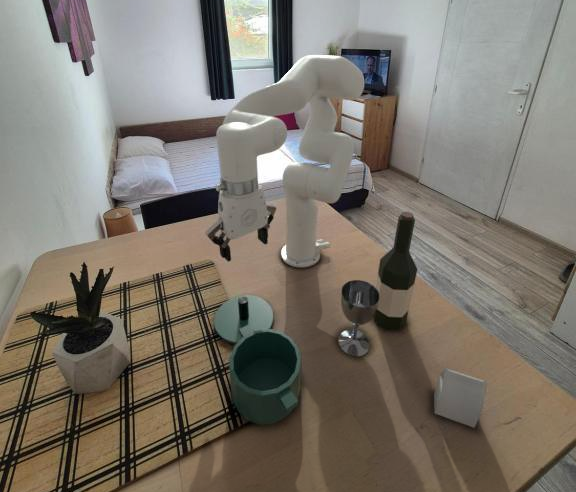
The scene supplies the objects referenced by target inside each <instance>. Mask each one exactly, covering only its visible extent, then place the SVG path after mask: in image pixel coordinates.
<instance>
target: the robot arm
mask: <svg viewBox="0 0 576 492" xmlns="http://www.w3.org/2000/svg"><path fill="white" fill-rule="evenodd" d="M364 89H365V77H364V73H363V72H362V70H361V69H360V68H359V67H357V65H356V64H355V63H353V62H352V61H351V60H349V59H348V58H346V57H343V56H341V55H331V54H329V55H327V54H325V55H324V54H308V55H305V56H303V57H301V58H300V59H299V60H298V61H297V62H296V63H295V64H294V65H293V66H292V67H291V69H289V70H288V72H287V73H285V75H284V76H283V77H282V78H281V79H280V80H279V81H278V82H276V83H273V84H270V85H267V86H265V87H262V88H260V89H258V90H256V91H253V92H251V93H248V95H245V96H244V97H243V98H242V99H240V100H239V101H238V102H237V103H236V104H235V105H234V106H233V107H232V108H231V109H230V110H229V111H228V112H227V114H226V115H225V117H224V120H223V121H222V125H220V126H219V127H218V128H217V129H216V135H215V136H216V146H217V153H218V154H217V155H218V164H219V174H220V177H219V183H217V184H215V190H216V191H217V192H218V193H219V194H218V201H217V207H218V208H217V214H218V215H217V218H218V219H217V220H216V221H215V222H214V223H213V224H212V225H211V226H209V228H208V229H207V230H205V232H204V234H205V236H207V238H208V239H209V240H210V241H211V242H212V243H213V244H214V245H217V246H219V254H220V257H221V258H222V259H225V260H226V262H228V263H229V262H230V261H232V255H231V246H230V245H229V244H230V242H231V240H237V239H239V238H242V237H244V236H246V235H249V234H251V233H253V232H255V231H257V239H258V241H260V242H261V243H262V244H264V245H268V244H269V241H268V238H269V229H270V228H271V223H272V222H273V220H274V219H275V217H274V216H275V214H276V212H277V207H276V206H275V205H273V204H267V201H266V197H265V192H264V189H263V186H262V184H260V183H259V173H258V157H259V156H262V155H266V154H267V155H268V154H270V153H274V152H276V151H278V150H279V149H281V148H282V146H284V144H285V142H286V141H287V139H288V138H287V137H288V128H287V125H286V124H285V122H284V121H283V120H282V119H280V118H278V117H276V116H284V115H290V114H293V113H297V112H299V111H300V112H301V111H302V110H303V109H304V108H306V106H307V105H308V103H309V114H308V119H307V121H306V124H305V126H304V129H303V132H302V136H301V139H300V141H299V146H298V154H299V155H300V156H301V158H303V159H305V160H308V161H310V162H314V163H315V162H316V163H319V164H323V165H328V166H329V167H324V166H319V165H316V164H312V163H308V162H302V161H295V162H291V163H289V164H288V165H286V167H285V168H284V170H283V173H282V185H283V191H284V195H285V245H283V246H282V248H281V250H280V257H281V259H282V261H283V262H284V263H285V264H287V265H289V266H291V267H295V268H308V267H312V266H314V265H315V264H317V263H318V262H319V260H320V259H321V251H322V250H326V249H330V248H331V243H330V242H329V241H325V242H324V239H323V238H322V239H317V232H318V231H317V230H318V229H317V228H318V210H319V209H318V204H317V202H321V203H326V204H335V203H336V202H338V201H339V199H340V198H341V195H342V193H343V190H344V187H345V184H346V181H347V177H348V174H349V171H350V167H351V165H352V160H353V157H354V152H355V142H354V138H352V137H351V136H350V135H349V134H347V133H344V132H337V131H335V129H336V126H337V123H338V114H337V111H336V108H335V107H334V105H333V103H332V101H331V99H336V100H343V101H355V100H358V99H359V98H360V97H361V96H362V94H363V92H364ZM219 231H220V232H219ZM218 232H219V233H218ZM217 233H218V236H217V235H216V234H217Z"/></svg>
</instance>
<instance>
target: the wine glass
mask: <svg viewBox="0 0 576 492" xmlns="http://www.w3.org/2000/svg"><path fill="white" fill-rule="evenodd" d="M340 292H341V293H340V303H341V304H340V305H341V310H342V314H343V315H344V318H345V319H346V320H347V321H348V322H350V323H351V324H352V327H353V328H352V329H346V330H344V331H342V332H341V333H340V335H339V336H338V345H339V347H340V349H341V351H343V352H344V354H346V355H349V356H351V357H357V358H359V357H362V356H365V355H366V354H367V353H368V352H369V351H370V340H369V338H368V337H367V336H366V335H365V334H364V333H363V332H361V331H360V330H359V328H360V326H364V325H367V324H369V323H370V322H371V321H372V320H374V315H375V313H376V311H377V308H378V304H379V292H378V290H377V289H376V286H375V285H373V284H371V283H370V282H368V281H365V280H362V279H353V280H348V281H347V282H345V283H344V284H343V285H342V287H341V291H340Z"/></svg>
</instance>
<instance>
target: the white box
mask: <svg viewBox="0 0 576 492" xmlns="http://www.w3.org/2000/svg"><path fill="white" fill-rule="evenodd" d="M487 382H488V381H487V380H483V379H480V378H478V377H474V376H471V375H468V374H464V373H462V372H458V371H455V370H452V369H449V368H445V367H444V369H443V371H442V372H441V373H440V374H439V378H438V381H437V383H436V387H435V391H434V394H433V403H434V405H433V407H434V414H435V415H438V416H440V417H443V418H446V419H449V420H451V421H454V422H457V423H459V424H463V425H465V426H468V427H471V428H473V429H475V428H476V425H477V423H478V420H479V418H480V416H481V414H482V411H483V408H484V404H485V397H486V396H485V395H486V390H487V385H488V383H487Z"/></svg>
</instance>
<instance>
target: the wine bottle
mask: <svg viewBox="0 0 576 492" xmlns="http://www.w3.org/2000/svg"><path fill="white" fill-rule="evenodd" d="M415 223H416V219H415V217H414V214H413V212H409V211H402V212H401V214H400V215H398V219H397V225H396V230H395V235H394V242H393V247H392V248H391V249H390V250H389V251H388V252H386V253H385V254H384V255H383V256H382V257H381V258H380V259H379V265H378V272H377V277H376V285H375V288H376V289H377V290H378V292H379V304H378V308H377V311H376V313H375V315H374V317H373V321H374V322H375V323H376V324H378V325H379V326H380V327H382V328H383V329H385V330H390V331H395V330H396V331H400V330H401V329H402V328H403V327H404V326H405V325H406V324H407V320H408V315H409V310H410V306H411V301H412V297H413V292H414V286H415V282H416V278H417V273H418V268H417V265H416V263H415V261H414V259H413V257H412V254H411V252H410V249H411V244H412V239H413V233H414V228H415Z"/></svg>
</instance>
